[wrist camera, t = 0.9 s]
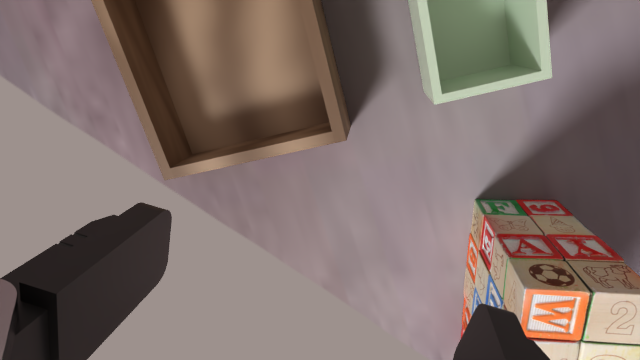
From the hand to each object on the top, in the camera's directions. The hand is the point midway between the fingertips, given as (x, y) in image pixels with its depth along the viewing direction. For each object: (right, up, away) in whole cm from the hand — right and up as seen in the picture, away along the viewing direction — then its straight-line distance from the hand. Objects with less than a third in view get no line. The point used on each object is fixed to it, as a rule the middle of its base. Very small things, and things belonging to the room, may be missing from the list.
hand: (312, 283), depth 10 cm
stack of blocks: (+16, -9, +24) cm, 30 cm away
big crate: (-6, +12, +20) cm, 24 cm away
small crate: (+10, +14, +16) cm, 24 cm away
